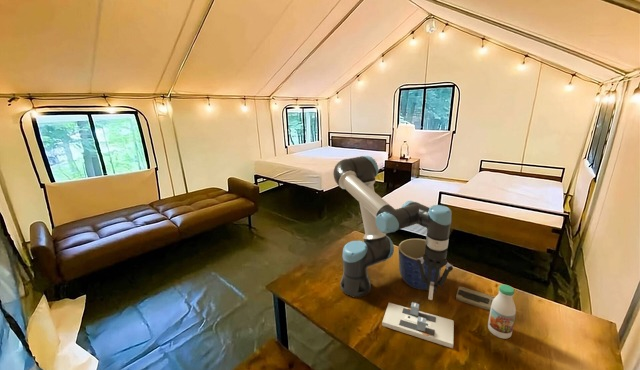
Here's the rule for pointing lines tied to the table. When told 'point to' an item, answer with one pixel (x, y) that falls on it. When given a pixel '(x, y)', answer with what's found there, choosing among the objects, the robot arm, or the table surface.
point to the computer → (474, 298)
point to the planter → (413, 263)
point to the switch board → (405, 322)
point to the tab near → (421, 323)
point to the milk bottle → (502, 313)
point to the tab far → (414, 309)
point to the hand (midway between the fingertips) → (430, 297)
